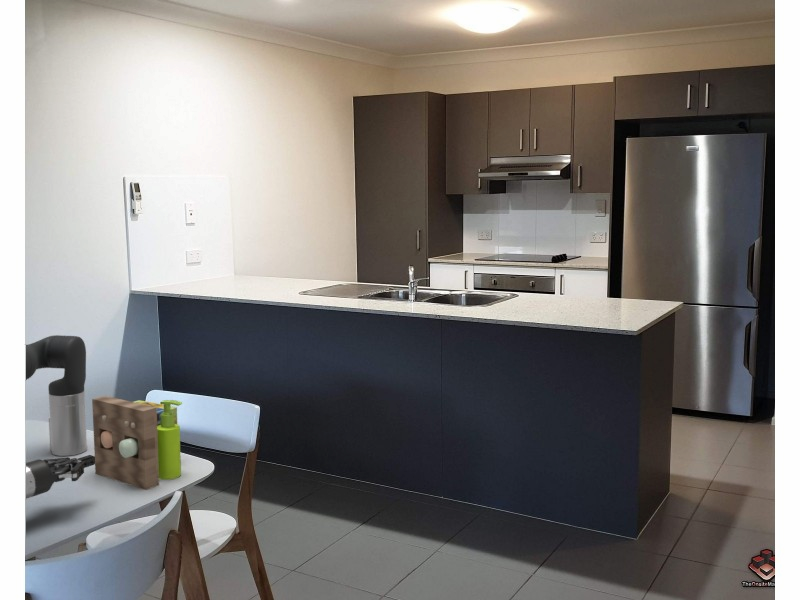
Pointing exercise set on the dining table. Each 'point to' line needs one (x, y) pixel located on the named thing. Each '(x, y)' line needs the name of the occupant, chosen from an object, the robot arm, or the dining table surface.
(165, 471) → the soap dispenser
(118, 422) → the button panel
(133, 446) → the button two
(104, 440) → the button one
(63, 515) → the dining table surface
